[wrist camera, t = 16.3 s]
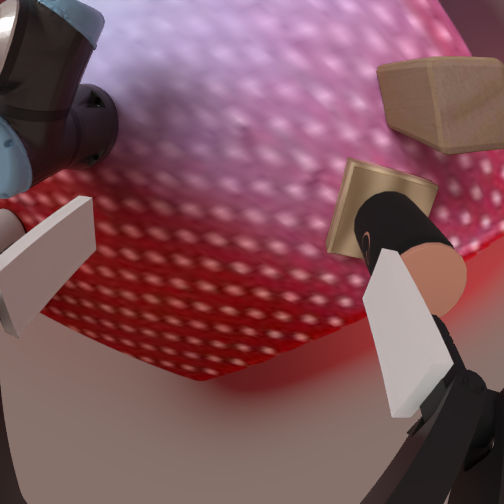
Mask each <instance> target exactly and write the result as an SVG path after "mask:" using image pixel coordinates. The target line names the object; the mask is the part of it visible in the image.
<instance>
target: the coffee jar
mask: <svg viewBox="0 0 504 504" xmlns="http://www.w3.org/2000/svg"><path fill="white" fill-rule="evenodd" d="M354 232H355V236H356V239H357V242H358V244H359V247H360V249H361V252H362V254H363V257H364V260H365V262H366V265H367V267H368V270H369V273H370V275H371V276H372V274H373V271H374V269H375V266H376V263H377V261H378V258H379V255H380V253H381V250H382V248H384V249H388V250H393V251H397V252H398V253H399V255H400V257H401V259H402V261H403V262H404V264H405V266H406V268H407V269H408V271H409V273H410V275H411V277H412V279H413V280H414V282H415V284H416V286H417V288H418V290H419V292H420V294H421V296H422V298H423V299H424V301H425V303H426V305H427V307H428V309H429V311H430V313H431V314H433V315H437V316H438V317H439V318H440V317H442V316H443V315H445V314H446V313H448V312H449V311H450V310H451V309H452V308H453V307H454V306H455V304H456V303H457V302H458V300H459V298H460V297H461V295H462V294H463V291H464V288H465V285H466V282H467V268H466V265H465V263H464V260H463V258H462V256H461V255H459V254H458V253H457V252H456V251H455V250H454V247H453V245H452V244H451V243H450V242H449V241H448V239H447V238H446V237H445V236H444V235H443V234H442V232H441V231H440V230H439V229H438V228H437V227H436V226H435V225H434V224H433V222H432V221H431V220H430V219H429V218H428V217H427V216H426V215H425V214H424V213H423V212H422V210H421V209H420V208H419V207H418V206H417V205H416V204H415V203H414V202H413V201H412V200H411V199H410V198H408V197H407V196H406V195H404V194H402V193H399V192H396V191H384V192H381V193H378V194H375V195H373V196H372V197H370V198H369V199H367V200H366V201H365V202H364V203H363V205H362V206H361V207H360V208H359V210H358V212H357V215H356V217H355V220H354Z"/></svg>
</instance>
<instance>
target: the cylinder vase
mask: <svg viewBox="0 0 504 504" xmlns="http://www.w3.org/2000/svg"><path fill="white" fill-rule="evenodd" d="M24 235H25V231H24V228H23V226H22V224H21V222H20V220H19V219H18V218H17V216H16V215H15V214H14V213H12V212H11V211H9V210H7V209H0V252H3V250H4V249H5V248H6V247H8V246H9V245H10V244H12V243H14V242H16V241H18V240H19V239H20V238H22V237H23V236H24Z"/></svg>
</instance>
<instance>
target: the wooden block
mask: <svg viewBox="0 0 504 504" xmlns="http://www.w3.org/2000/svg"><path fill="white" fill-rule="evenodd" d="M377 76H378V80H379V85H380V90H381V94H382V99H383V104H384V110H385V115H386V120H387V124H388V126H389V128H391V129H393V130H395V131H398V132H400V133H402V134H404V135H406V136H409V137H411V138H413V139H415V140H417V141H419V142H421V143H423V144H425V145H427V146H429V147H431V148H433V149H435V150H437V151H439V152H441V153H443V154H446V155H453V154H461V153H469V152H478V151H488V150H497V149H504V65H503V63H502V62H500V61H499V60H497V59H495V58H485V57H453V56H446V57H427V58H420V59H413V60H407V61H401V62H395V63H390V64H384V65H381V66H379V67H377Z"/></svg>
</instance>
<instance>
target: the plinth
mask: <svg viewBox="0 0 504 504" xmlns="http://www.w3.org/2000/svg"><path fill="white" fill-rule="evenodd" d="M438 187H439V186H437V185H436V184H435V183H434V182H432V181H431V180H428V179H425V178H422V177H418V176H415V175H412V174H408V173H405V172H401V171H398V170H395V169H391V168H387V167H384V166H380V165H376V164H373V163H369V162H365V161H361V160H357V159H353V158H349V157H348V159H347V163H346V167H345V171H344V175H343V179H342V183H341V187H340V191H339V195H338V199H337V202H336V206H335V210H334V214H333V217H332V221H331V225H330V228H329V232H328V235H327V239H326V242H325V243H326V248H327V252H329V253H335V254H340V255H345V256H351V257H356V258H361V259H364V257H363V254H362V252H361V249H360V247H359V244H358V242H357V239H356V236H355V232H354V220H355V217H356V215H357V212H358V210H359V208H360V207H361V206H362V205H363V203H364V202H365V201H366V200H367V199H369V198H370V197H372V196H373V195H375V194H378V193H381V192H384V191H396V192H399V193H402V194H404V195H406V196H407V197H408V198H410V199H411V200H412V201H413V202H414V203H415V204H416V205H417V206H418V207H419V208H420V209H421V210H422V212H423V213H424V214H425V215H426V216H427V217H429V214H430V211H431V208H432V205H433V202H434V199H435V196H436V193H437V190H438Z"/></svg>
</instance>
